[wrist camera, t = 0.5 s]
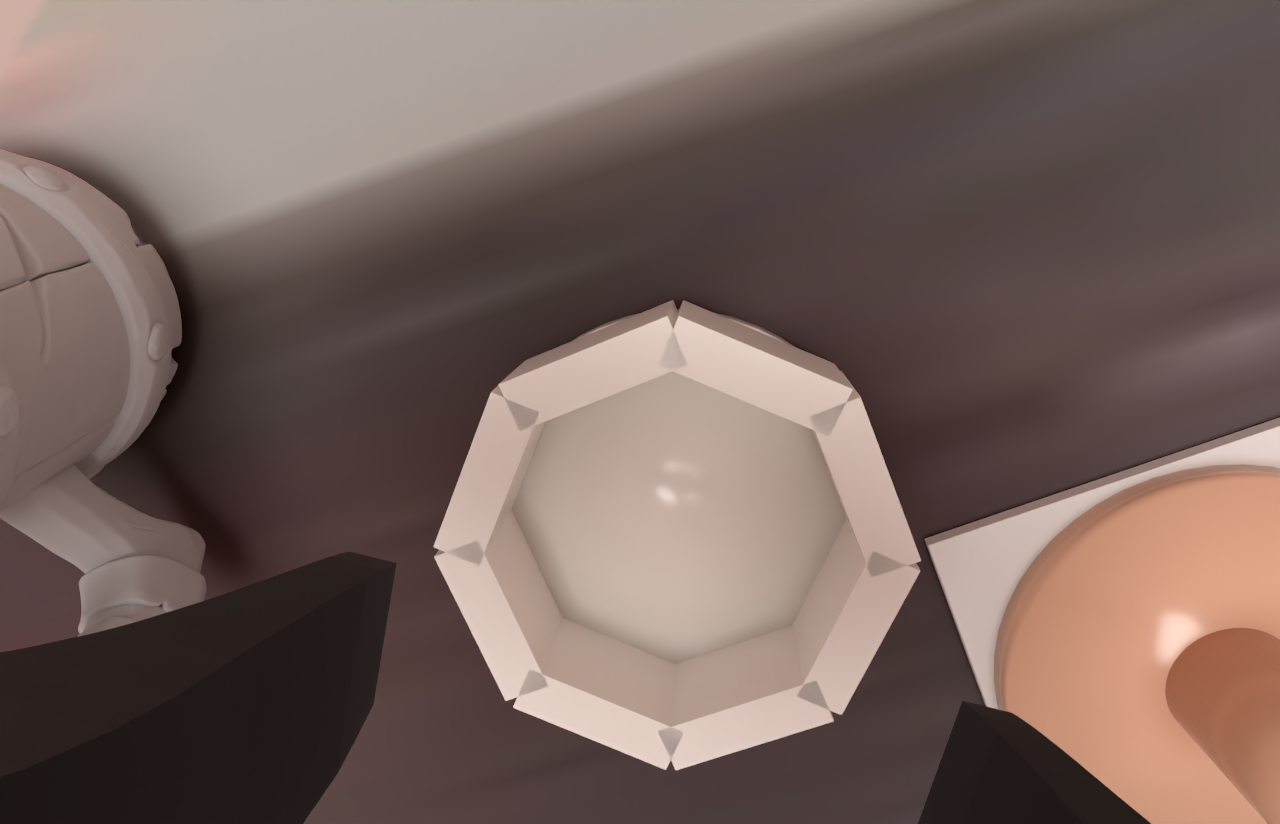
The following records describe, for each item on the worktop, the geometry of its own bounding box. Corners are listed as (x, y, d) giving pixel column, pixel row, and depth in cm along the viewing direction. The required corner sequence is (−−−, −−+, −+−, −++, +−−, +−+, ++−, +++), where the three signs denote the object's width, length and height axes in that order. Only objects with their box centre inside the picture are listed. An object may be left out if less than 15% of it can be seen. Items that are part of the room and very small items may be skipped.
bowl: (923, 600, 21) (965, 680, 17) (581, 713, 22) (558, 806, 19) (791, 246, 19) (809, 258, 15) (429, 395, 20) (373, 434, 17)
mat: (1484, 833, 21) (1498, 845, 21) (1071, 939, 23) (1077, 951, 22) (1376, 384, 19) (1390, 388, 18) (924, 539, 20) (928, 545, 20)
